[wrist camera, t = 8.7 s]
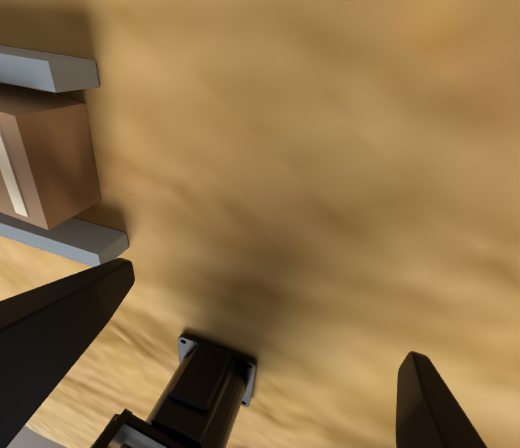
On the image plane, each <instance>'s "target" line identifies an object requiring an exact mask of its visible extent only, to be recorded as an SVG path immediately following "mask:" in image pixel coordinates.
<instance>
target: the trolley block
mask: <svg viewBox="0 0 520 448" xmlns="http://www.w3.org/2000/svg"><path fill="white" fill-rule="evenodd" d="M100 201H101V195H100V189H99V183H98V176H97V170H96V164H95V158H94V152H93V145H92V139H91V133H90V127H89V121H88V114H87V108H86V103H83V102H79V101H75V100H72V99H68V98H64V97H61V96H57V95H54V94H50V93H46V92H43V91H39V90H36V89H32V88H28V87H23V86H18V85H13V84H7V83H2V82H0V212H1V213H4V214H7V215H9V216H12V217H15V218H17V219H20V220H23V221H25V222H28V223H31V224H33V225H36V226H39V227H41V228H44V229H47V230H50V229H52V228H53V227H55V226H57V225H59V224H60V223H62V222H64V221H66V220H68V219H69V218H71V217H73V216H75V215H77V214H78V213H80V212H82V211H84V210H86V209H87V208H89V207H91V206H93V205H94V204H96V203H98V202H100Z"/></svg>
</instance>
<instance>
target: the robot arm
mask: <svg viewBox="0 0 520 448" xmlns="http://www.w3.org/2000/svg"><path fill="white" fill-rule="evenodd" d="M134 281H135V276H134V270H133V265H132V262H131V261H130V260H127V259H123V258H117V259H114V260H111V261H109V262H106V263H103V264H100V265H98V266H95V267H92V268H90V269H87V270H84V271H81V272H79V273H76V274H73V275H70V276H68V277H65V278H62V279H60V280H57V281H54V282H51V283H49V284H46V285H43V286H41V287H38V288H35V289H32V290H30V291H27V292H24V293H21V294H19V295H16V296H13V297H10V298H8V299H5V300H2V301H0V448H6V447H7V446H8V445H9V443H10V442H11V441H12V440H13V439H14V437H15V436H16V435H17V433H18V432H19V431H20V430H21V429H22V428H23V426H24V425H25V424H26V423H27V421H28V420H29V419H30V418H31V417H32V415H33V414H34V413H35V412H36V410H37V409H38V408H39V407H40V405H41V404H42V403H43V402H44V401H45V399H46V398H47V397H48V396H49V394H50V393H51V392H52V391H53V390H54V388H55V387H56V386H57V385H58V383H59V382H60V381H61V380H62V378H63V377H64V376H65V375H66V374H67V372H68V371H69V370H70V369H71V367H72V366H73V365H74V364H75V363H76V361H77V360H78V359H79V358H80V356H81V355H82V354H83V353H84V351H85V350H86V349H87V348H88V347H89V345H90V344H91V343H92V342H93V340H94V339H95V338H96V337H97V336H98V334H99V333H100V332H101V331H102V329H103V328H104V327H105V326H106V324H107V323H108V322H109V320H110V319H111V317H112V316H113V314H114V313H115V311H116V310H117V308H118V307H119V305H120V304H121V302H122V301H123V299H124V298H125V296H126V295H127V293H128V292H129V290H130V289H131V287H132V286H133V284H134ZM178 348H179V360H180V365H179V366H178V368H177V370H176V371H175V373H174V375H173V376H172V378H171V380H170V381H169V383H168V385H167V386H166V388H165V390H164V391H163V393H162V395H161V396H160V398H159V400H158V401H157V403H156V405H155V406H154V408H153V410H152V411H151V413H150V415H149V416H148V418H147V420H146V421H143V420H142V419H140V418H138V417H136V416H135V415H133V414H132V413H133V412H131V411H129V410H127V409H125V410H124V411H123V412H122V413H121V415H119V414H115V415H114V416H113V418H112V419H111V421H110V422H109V423H108V425H107V426H106V428H105V429H104V431H103V432H102V433H101V435H100V436H99V437H98V439H97V440H96V441H95V442H94V444H93V445H92V446H91V447H90V448H225V447H226V445H227V442H228V439H229V436H230V433H231V431H232V428H233V425H234V422H235V419H236V417H237V414H238V411H239V408H240V406H241V405H242V406H245V407H248V406H249V405H250V402H251V396H252V390H253V384H254V378H255V372H256V366H257V362H256V360H254V359H253V358H251V357H248V356H245V355H243V354H240V353H237V352H235V351H232V350H229V349H226V348H224V347H221V346H218V345H215V344H213V343H210V342H207V341H204V340H202V339H199V338H196V337H193V336H191V335H188V334H185V333H182V334H181V335H180V336H179V338H178ZM396 447H397V448H487V446H486V445H485V443H484V442H483V440H482V439H481V437H480V435H479V434H478V432H477V431H476V429H475V428H474V426H473V425H472V423H471V422H470V420H469V419H468V417H467V416H466V414H465V413H464V411H463V410H462V408H461V406H460V405H459V403H458V402H457V400H456V399H455V397H454V396H453V394H452V393H451V391H450V390H449V388H448V387H447V385H446V384H445V382H444V380H443V379H442V377H441V376H440V374H439V373H438V371H437V370H436V368H435V367H434V365H433V364H432V362H431V361H430V359H429V358H428V357H427V356H426V355H423V354H420V353H417V352H414V351H411V352H409V353H408V355H407V356H406V358H405V360H404V361H403V363H402V364H401V366H400V368H399V371H398V381H397V407H396Z"/></svg>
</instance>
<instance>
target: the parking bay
mask: <svg viewBox="0 0 520 448" xmlns="http://www.w3.org/2000/svg"><path fill="white" fill-rule="evenodd" d="M0 82H2V83H7V84H13V85H18V86H23V87H28V88H34V89H39V90H44V91H49V92H55V93H58V92H66V91H74V90H82V89H89V88H97V87H100V85H99V79H98V74H97V68H96V63H95V60H92V59H86V58H79V57H73V56H66V55H60V54H54V53H47V52H41V51H34V50H28V49H21V48H15V47H9V46H2V45H0ZM0 236H3V237H6V238H9V239H12V240H15V241H18V242H21V243H24V244H27V245H30V246H33V247H36V248H39V249H42V250H45V251H48V252H51V253H54V254H57V255H60V256H63V257H66V258H69V259H72V260H75V261H78V262H80V263H83V264H86V265H89V266H92V267H95V266H98V265H100V264H103V263H106V262H109V261H111V260H114V259H115V258H117V257H118V256H119V255H120V254H122V253H123V252H124V251H125V250H126V249H128V248H129V245H128V240H127V234H126V233H124V232H120V231H117V230H114V229H110V228H107V227H104V226H100V225H97V224H93V223H90V222H87V221H83V220H80V219H77V218H73V217H71V218H69V219H68V220H66V221H64V222H62V223H60V224H59V225H57V226H55V227H53V228H52V229H50V230H47V229H44V228H41V227H39V226H36V225H33V224H31V223H28V222H25V221H23V220H20V219H17V218H15V217H12V216H9V215H7V214H4V213H1V212H0Z"/></svg>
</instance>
